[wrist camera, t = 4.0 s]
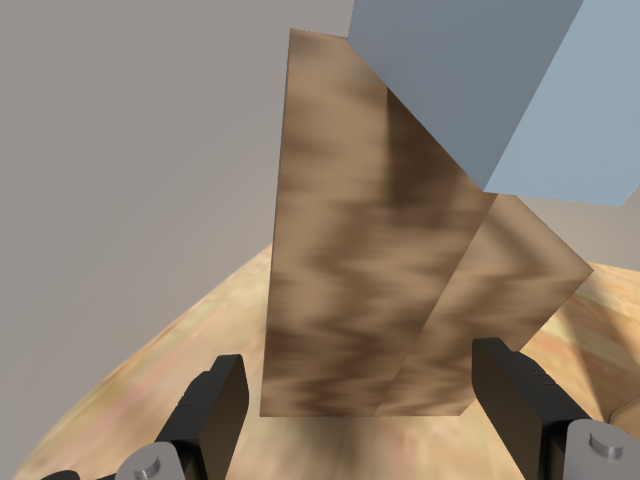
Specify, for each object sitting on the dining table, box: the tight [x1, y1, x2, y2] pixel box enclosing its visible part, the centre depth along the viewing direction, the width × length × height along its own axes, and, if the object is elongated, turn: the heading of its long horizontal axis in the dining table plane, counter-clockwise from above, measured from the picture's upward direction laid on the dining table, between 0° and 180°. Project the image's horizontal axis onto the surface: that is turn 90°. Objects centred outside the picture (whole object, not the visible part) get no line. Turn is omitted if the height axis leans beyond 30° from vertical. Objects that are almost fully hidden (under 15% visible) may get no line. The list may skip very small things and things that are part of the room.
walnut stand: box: [260, 28, 594, 417], centre depth 31 cm, size 22×16×32 cm
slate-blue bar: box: [347, 0, 640, 207], centre depth 15 cm, size 4×22×4 cm, turn 4°
